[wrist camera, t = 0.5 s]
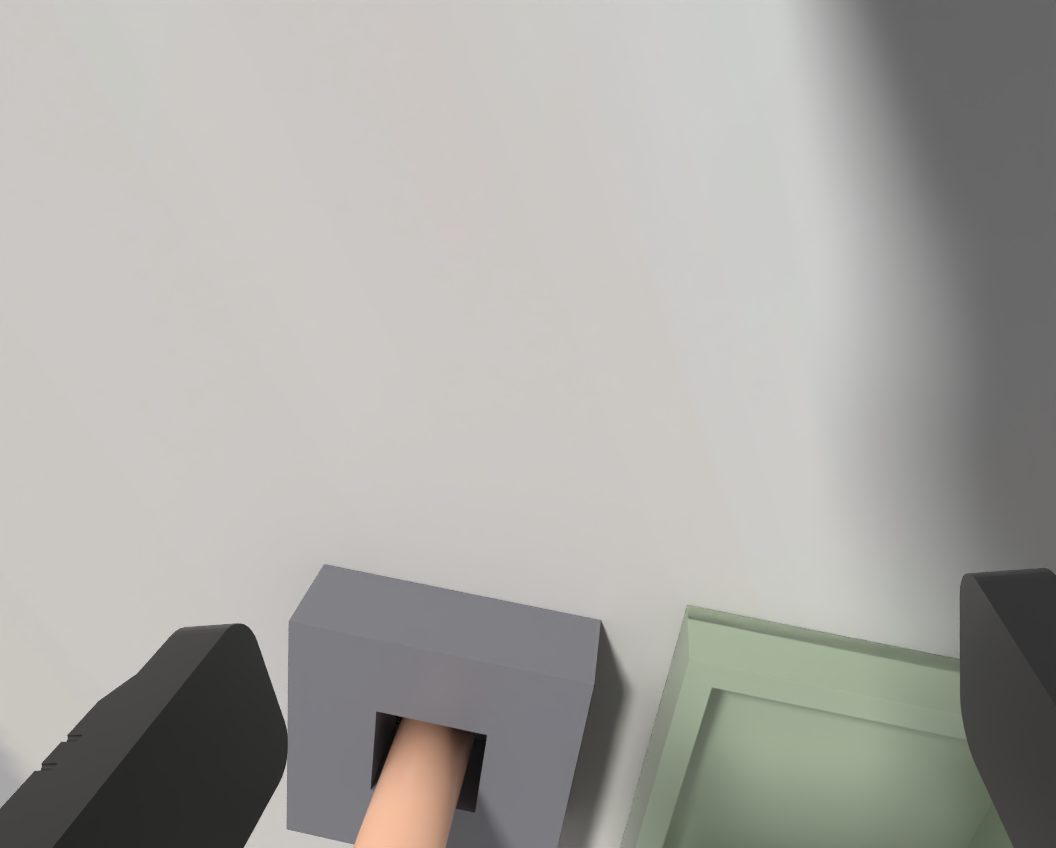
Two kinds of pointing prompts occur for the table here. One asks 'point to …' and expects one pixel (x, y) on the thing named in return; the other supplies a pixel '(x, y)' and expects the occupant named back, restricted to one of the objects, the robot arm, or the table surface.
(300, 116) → the table surface
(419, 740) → the peg
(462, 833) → the grey flat square piece
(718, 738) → the parts tray
